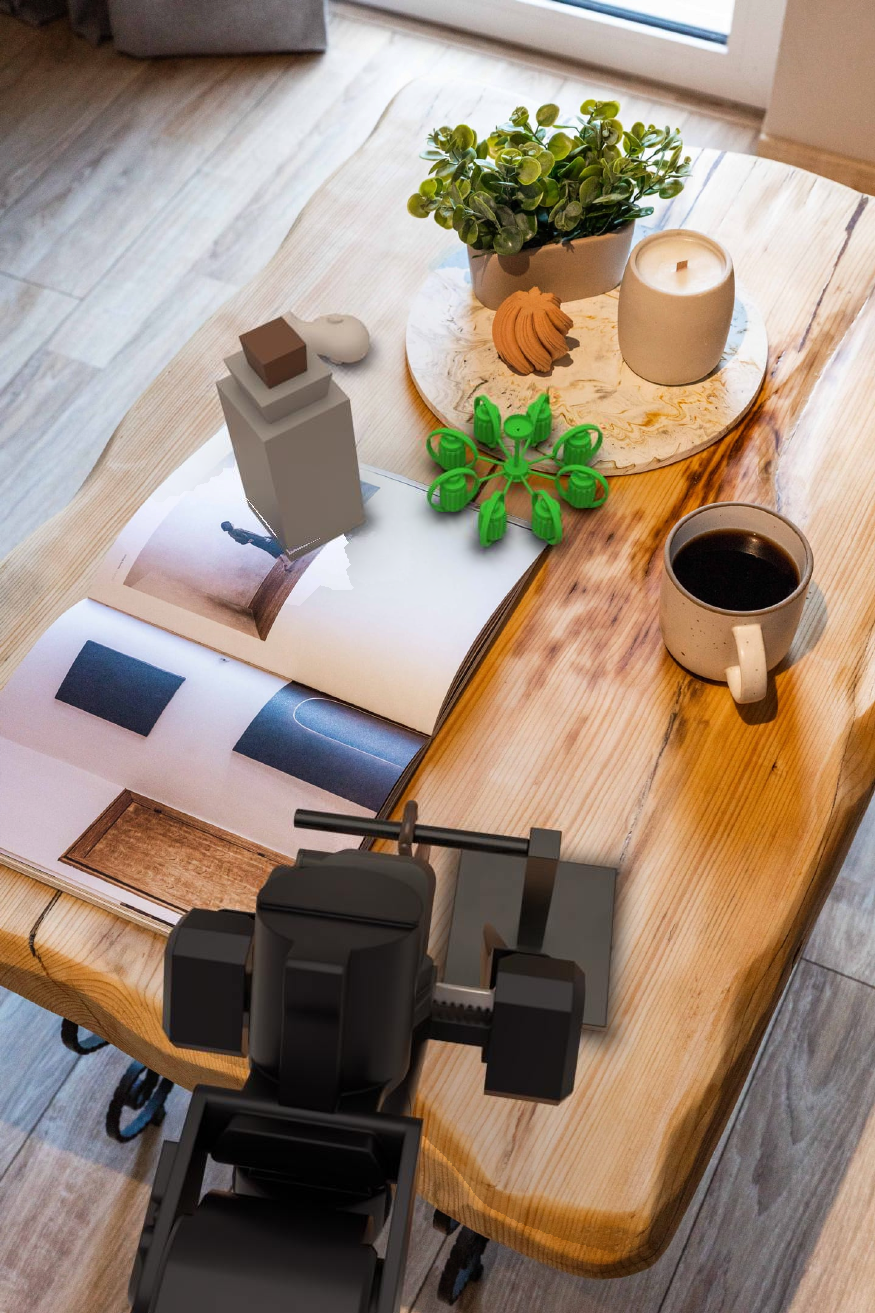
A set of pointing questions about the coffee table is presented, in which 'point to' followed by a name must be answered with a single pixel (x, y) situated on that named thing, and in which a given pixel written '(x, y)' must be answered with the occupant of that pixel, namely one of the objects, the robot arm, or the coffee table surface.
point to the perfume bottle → (292, 439)
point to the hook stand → (512, 899)
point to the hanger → (411, 833)
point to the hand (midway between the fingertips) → (400, 920)
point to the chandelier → (516, 468)
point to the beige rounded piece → (333, 336)
